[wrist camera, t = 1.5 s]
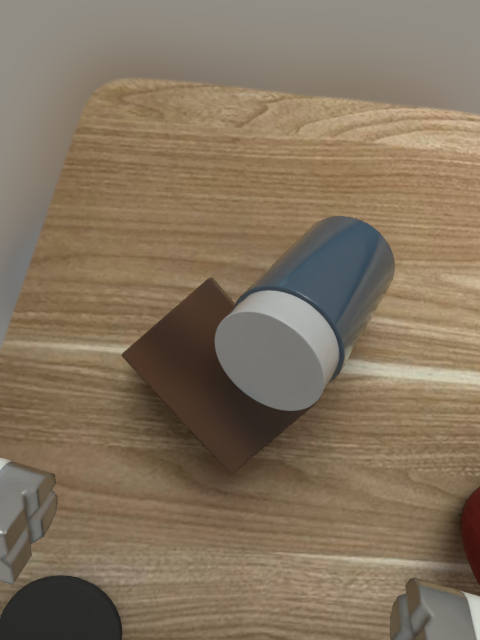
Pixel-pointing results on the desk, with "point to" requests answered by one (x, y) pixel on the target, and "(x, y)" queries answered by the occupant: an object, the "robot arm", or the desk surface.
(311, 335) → the jar
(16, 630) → the coaster
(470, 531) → the apple
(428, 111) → the desk surface
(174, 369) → the prop block
